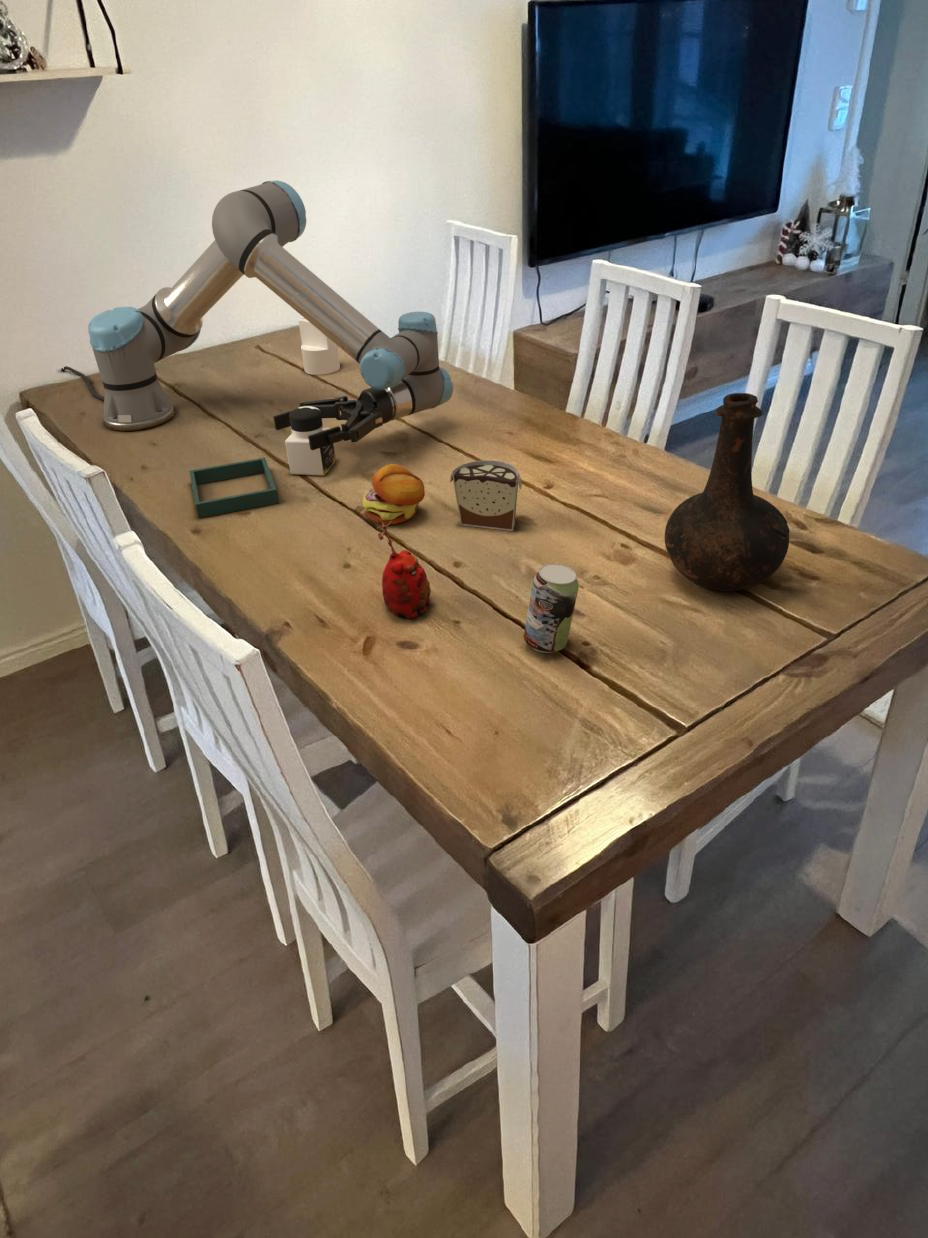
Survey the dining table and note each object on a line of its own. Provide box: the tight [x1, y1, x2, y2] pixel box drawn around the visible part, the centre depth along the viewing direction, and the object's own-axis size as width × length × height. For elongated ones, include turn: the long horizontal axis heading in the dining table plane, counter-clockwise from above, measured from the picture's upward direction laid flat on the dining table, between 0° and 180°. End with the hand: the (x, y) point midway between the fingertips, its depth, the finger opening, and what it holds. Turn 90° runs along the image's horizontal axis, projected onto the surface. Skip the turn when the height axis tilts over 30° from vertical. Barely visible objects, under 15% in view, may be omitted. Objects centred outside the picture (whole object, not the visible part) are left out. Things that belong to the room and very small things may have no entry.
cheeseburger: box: [362, 463, 426, 525], centre depth 158 cm, size 10×11×10 cm
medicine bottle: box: [284, 406, 336, 477], centre depth 175 cm, size 7×7×12 cm
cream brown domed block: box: [449, 459, 523, 532], centre depth 154 cm, size 12×6×10 cm, turn 71°
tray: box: [189, 457, 280, 519], centre depth 170 cm, size 16×15×3 cm
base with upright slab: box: [298, 317, 341, 376], centre depth 225 cm, size 9×9×12 cm
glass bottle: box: [664, 392, 790, 592], centre depth 130 cm, size 18×18×28 cm
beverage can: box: [523, 563, 580, 654], centre depth 122 cm, size 6×7×12 cm
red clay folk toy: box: [376, 519, 432, 620], centre depth 131 cm, size 8×7×15 cm
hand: (291, 433), depth 172 cm, fingers open, 13 cm apart
